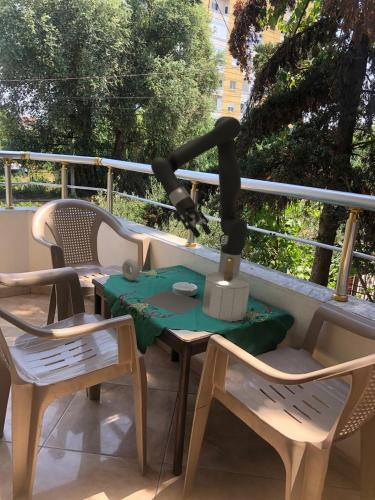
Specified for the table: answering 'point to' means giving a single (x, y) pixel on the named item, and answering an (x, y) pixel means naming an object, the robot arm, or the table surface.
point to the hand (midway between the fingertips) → (204, 235)
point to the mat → (172, 302)
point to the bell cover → (226, 294)
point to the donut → (126, 269)
